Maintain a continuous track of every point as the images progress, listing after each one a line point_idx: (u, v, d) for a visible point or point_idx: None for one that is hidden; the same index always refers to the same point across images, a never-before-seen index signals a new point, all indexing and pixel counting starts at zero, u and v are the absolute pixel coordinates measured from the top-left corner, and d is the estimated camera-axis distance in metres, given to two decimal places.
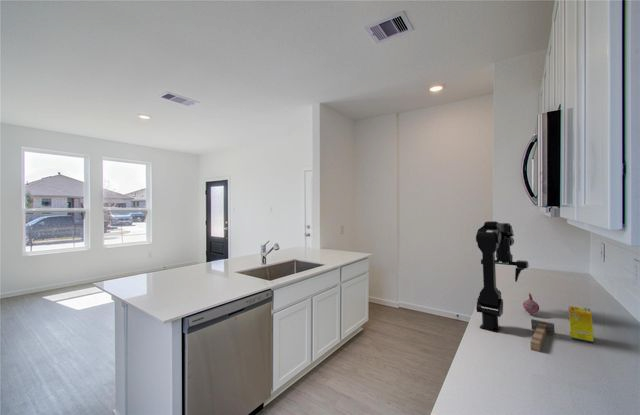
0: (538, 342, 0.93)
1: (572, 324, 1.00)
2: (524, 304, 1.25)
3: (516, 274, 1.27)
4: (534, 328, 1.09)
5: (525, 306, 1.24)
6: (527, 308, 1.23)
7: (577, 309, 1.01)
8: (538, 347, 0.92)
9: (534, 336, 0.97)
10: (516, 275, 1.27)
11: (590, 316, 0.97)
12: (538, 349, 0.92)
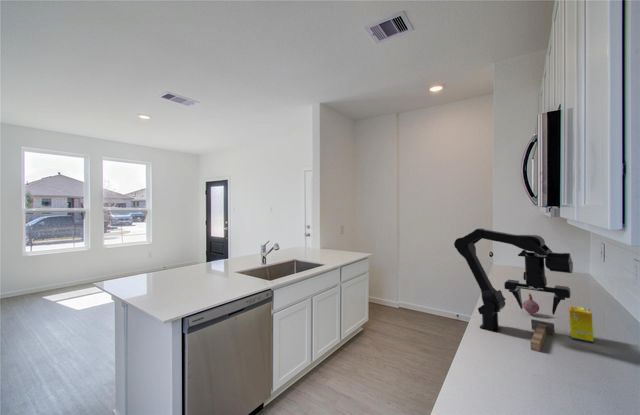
0: (538, 342, 0.93)
1: (572, 324, 1.00)
2: (524, 304, 1.25)
3: (554, 305, 0.95)
4: (534, 328, 1.09)
5: (525, 306, 1.24)
6: (527, 308, 1.23)
7: (577, 309, 1.01)
8: (538, 347, 0.92)
9: (534, 336, 0.97)
10: (554, 306, 0.95)
11: (590, 316, 0.97)
12: (538, 349, 0.92)
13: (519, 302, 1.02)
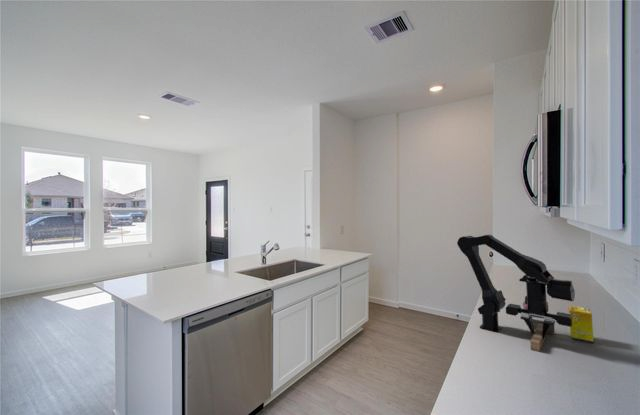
0: (538, 342, 0.93)
1: (572, 324, 1.00)
2: (524, 304, 1.25)
3: (544, 330, 0.96)
4: (534, 328, 1.09)
5: (525, 306, 1.24)
6: None
7: (577, 309, 1.01)
8: (538, 347, 0.92)
9: (534, 336, 0.97)
10: (544, 331, 0.97)
11: (590, 316, 0.97)
12: (538, 349, 0.92)
13: (531, 330, 0.99)
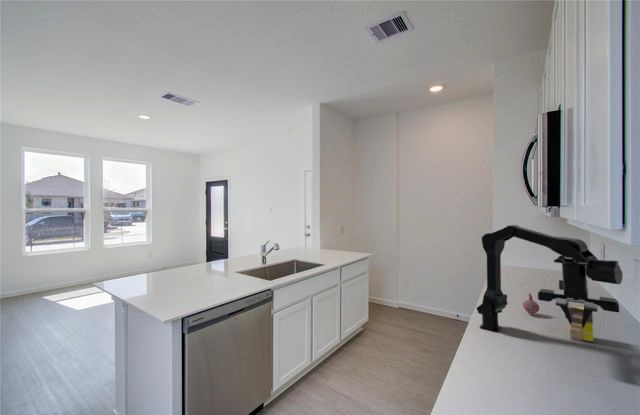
0: (579, 330, 0.81)
1: None
2: (524, 304, 1.25)
3: (584, 317, 0.84)
4: None
5: (525, 306, 1.24)
6: (527, 308, 1.23)
7: None
8: (580, 336, 0.80)
9: (573, 324, 0.85)
10: (584, 318, 0.85)
11: None
12: (580, 338, 0.80)
13: (569, 317, 0.87)
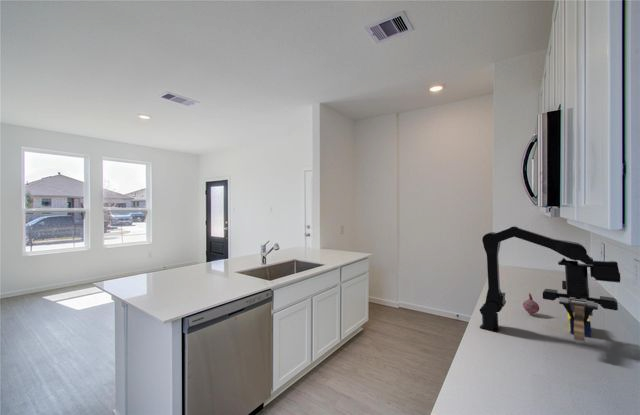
0: (582, 330, 0.88)
1: None
2: (524, 304, 1.25)
3: (586, 314, 0.92)
4: None
5: (525, 306, 1.24)
6: (527, 308, 1.23)
7: None
8: (583, 336, 0.87)
9: (575, 323, 0.92)
10: (586, 316, 0.92)
11: None
12: (583, 338, 0.87)
13: (571, 315, 0.94)
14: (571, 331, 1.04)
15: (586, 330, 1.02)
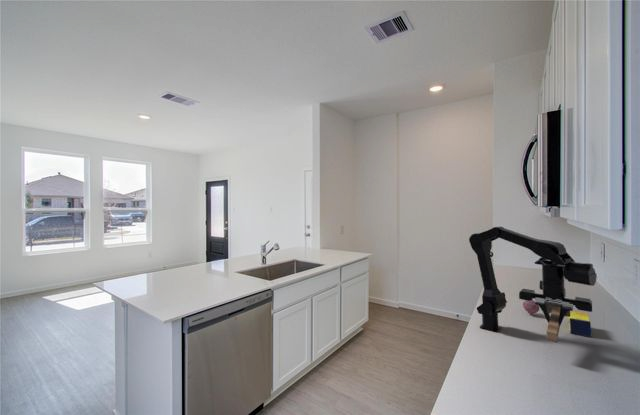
0: (555, 332, 0.86)
1: None
2: (524, 304, 1.25)
3: (561, 315, 0.90)
4: None
5: (525, 306, 1.24)
6: (527, 308, 1.23)
7: None
8: (555, 337, 0.86)
9: (550, 324, 0.91)
10: (561, 317, 0.90)
11: (585, 313, 1.09)
12: (555, 339, 0.86)
13: (547, 316, 0.93)
14: (571, 331, 1.04)
15: (586, 330, 1.02)
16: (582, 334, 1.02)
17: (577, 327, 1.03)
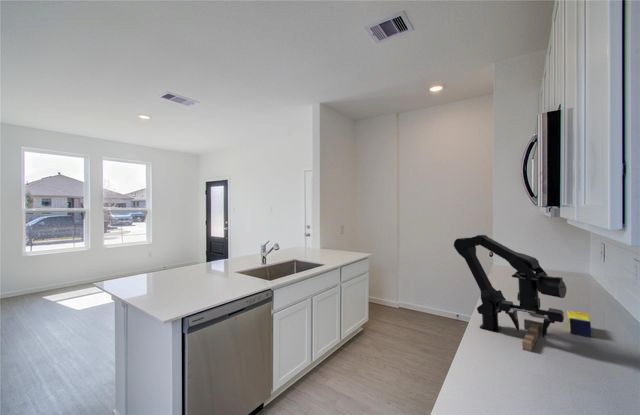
0: (530, 342, 0.93)
1: (569, 314, 1.09)
2: None
3: (544, 327, 0.95)
4: (527, 328, 1.09)
5: None
6: None
7: None
8: (530, 347, 0.92)
9: (526, 336, 0.97)
10: (544, 329, 0.95)
11: (585, 313, 1.09)
12: (530, 349, 0.92)
13: (515, 324, 1.01)
14: (571, 331, 1.04)
15: (586, 330, 1.02)
16: (582, 334, 1.02)
17: (577, 327, 1.03)
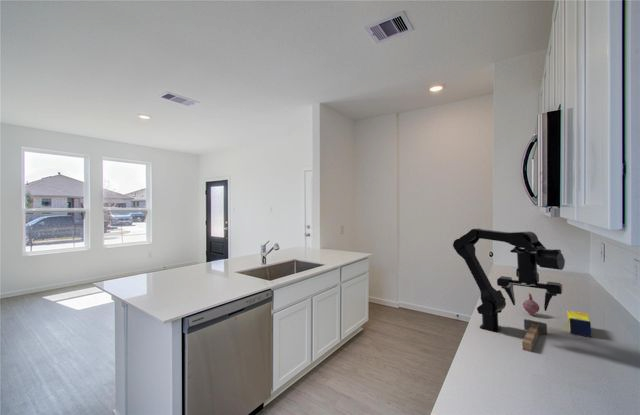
0: (530, 342, 0.93)
1: (569, 314, 1.09)
2: (524, 304, 1.25)
3: (546, 301, 0.94)
4: (527, 328, 1.09)
5: (525, 306, 1.24)
6: (527, 308, 1.23)
7: None
8: (530, 347, 0.92)
9: (526, 336, 0.97)
10: (546, 302, 0.95)
11: (585, 313, 1.09)
12: (530, 349, 0.92)
13: (511, 298, 1.02)
14: (571, 331, 1.04)
15: (586, 330, 1.02)
16: (582, 334, 1.02)
17: (577, 327, 1.03)
